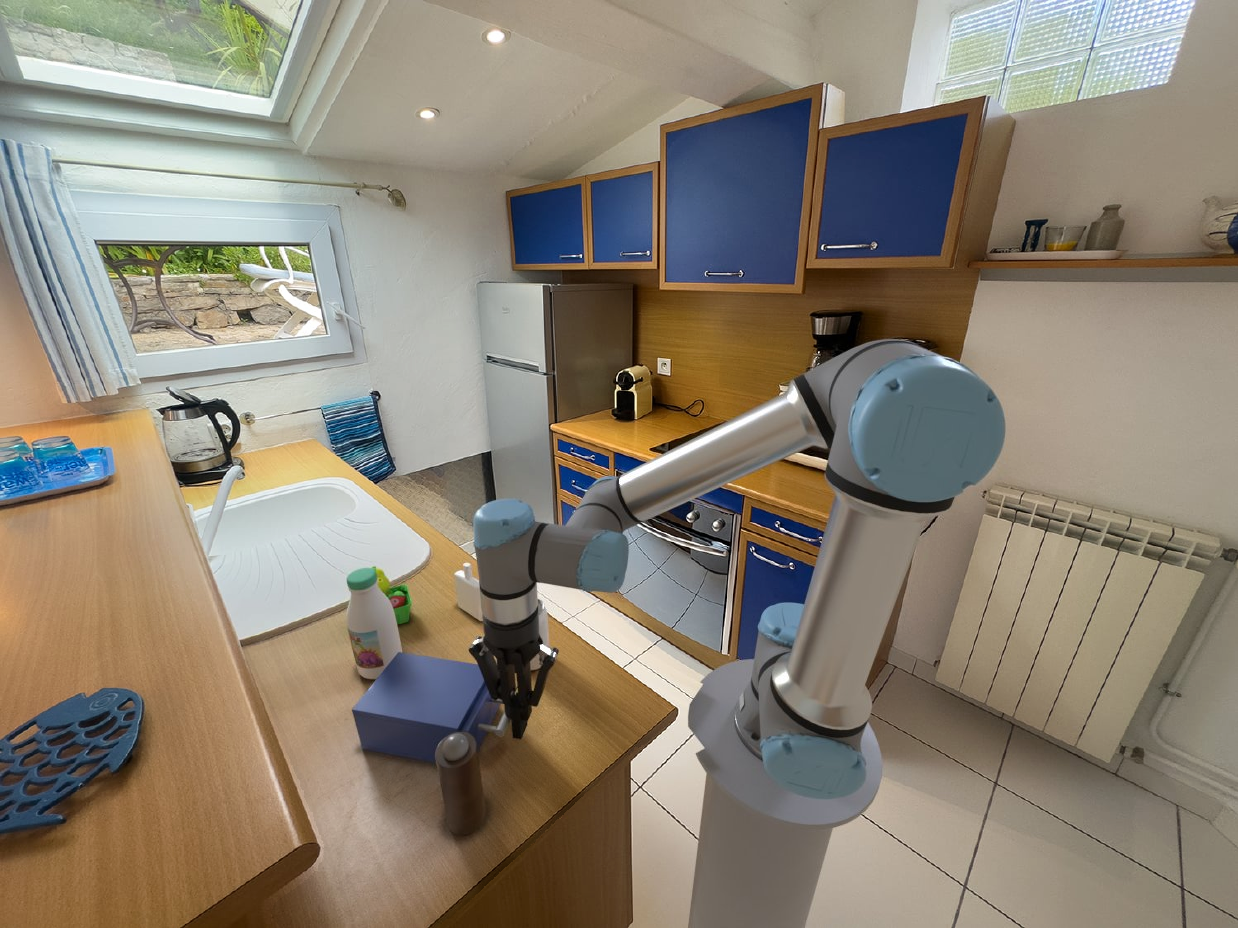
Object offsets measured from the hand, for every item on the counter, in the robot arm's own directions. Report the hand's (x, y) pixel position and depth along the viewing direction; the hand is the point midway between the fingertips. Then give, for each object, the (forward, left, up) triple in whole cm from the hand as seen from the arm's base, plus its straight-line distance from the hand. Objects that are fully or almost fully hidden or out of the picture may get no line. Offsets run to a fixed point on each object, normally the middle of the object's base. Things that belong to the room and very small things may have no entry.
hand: (520, 730), depth 76 cm
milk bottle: (+31, -10, -2) cm, 33 cm away
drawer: (+11, 0, -1) cm, 11 cm away
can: (+4, -17, -2) cm, 17 cm away
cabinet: (+15, 0, -2) cm, 15 cm away
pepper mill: (+3, +12, -2) cm, 13 cm away
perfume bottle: (+21, -27, -2) cm, 34 cm away
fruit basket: (+38, -21, -2) cm, 44 cm away
